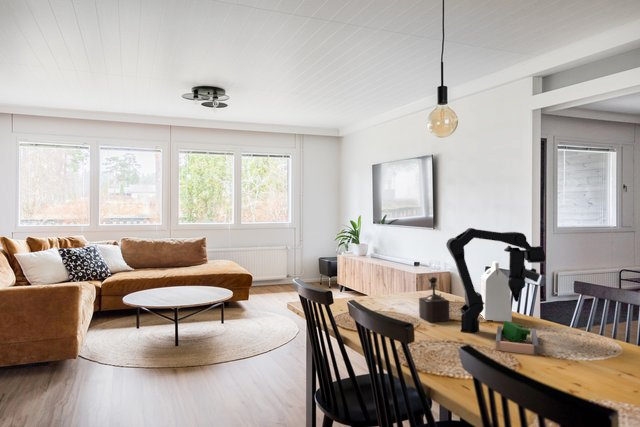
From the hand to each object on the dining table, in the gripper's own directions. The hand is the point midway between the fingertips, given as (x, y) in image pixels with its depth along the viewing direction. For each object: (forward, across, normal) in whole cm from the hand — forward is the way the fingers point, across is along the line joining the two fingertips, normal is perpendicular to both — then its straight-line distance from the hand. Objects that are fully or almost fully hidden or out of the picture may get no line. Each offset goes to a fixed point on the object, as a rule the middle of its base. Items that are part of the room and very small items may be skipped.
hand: (516, 300), depth 188 cm
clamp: (+13, -11, 0) cm, 17 cm away
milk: (+13, +21, +9) cm, 26 cm away
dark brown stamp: (+13, +10, +36) cm, 40 cm away
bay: (+13, -17, 0) cm, 21 cm away
